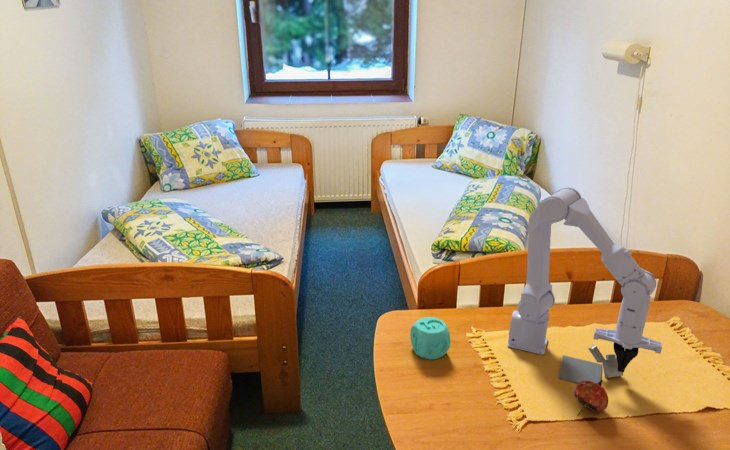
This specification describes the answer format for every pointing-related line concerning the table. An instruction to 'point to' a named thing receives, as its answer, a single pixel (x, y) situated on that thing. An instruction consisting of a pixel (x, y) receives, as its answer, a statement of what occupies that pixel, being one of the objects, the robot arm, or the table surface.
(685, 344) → the table surface
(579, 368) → the mat
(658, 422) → the table surface
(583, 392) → the pomegranate
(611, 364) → the lighter
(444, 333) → the decorative dice
